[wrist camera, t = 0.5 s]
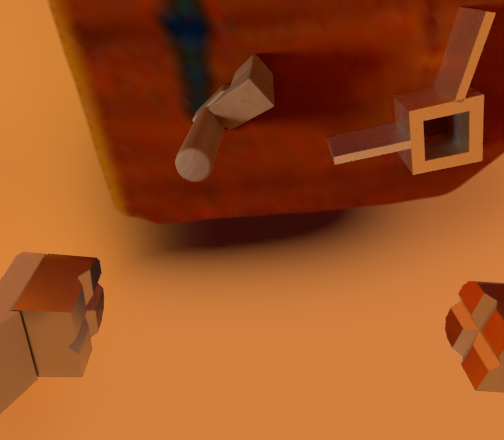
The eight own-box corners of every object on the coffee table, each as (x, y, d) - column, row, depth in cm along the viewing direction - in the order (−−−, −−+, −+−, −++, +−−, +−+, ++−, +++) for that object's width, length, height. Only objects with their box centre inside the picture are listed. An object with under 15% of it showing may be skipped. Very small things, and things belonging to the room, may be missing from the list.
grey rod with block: (274, 74, 52) (276, 117, 37) (215, 131, 56) (194, 191, 41) (254, 51, 51) (247, 86, 35) (195, 111, 55) (165, 166, 39)
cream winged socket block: (467, 4, 47) (496, 9, 41) (466, 138, 55) (490, 159, 49) (311, 45, 50) (316, 54, 44) (331, 167, 58) (338, 189, 52)
